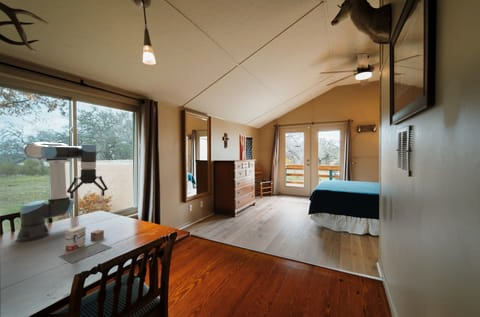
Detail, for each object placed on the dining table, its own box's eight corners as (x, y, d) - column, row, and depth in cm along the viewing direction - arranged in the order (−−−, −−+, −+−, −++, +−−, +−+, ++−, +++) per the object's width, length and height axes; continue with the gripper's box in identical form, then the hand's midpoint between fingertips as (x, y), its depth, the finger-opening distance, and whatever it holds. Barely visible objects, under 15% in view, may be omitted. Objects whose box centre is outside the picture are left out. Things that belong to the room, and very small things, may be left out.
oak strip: (61, 255, 111) (61, 254, 111) (96, 243, 127) (96, 242, 127) (62, 256, 110) (62, 255, 110) (97, 243, 126) (97, 242, 126)
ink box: (71, 251, 116) (71, 231, 116) (65, 250, 117) (65, 230, 117) (86, 244, 125) (86, 226, 124) (79, 243, 126) (79, 225, 125)
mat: (59, 256, 110) (59, 256, 110) (98, 242, 128) (98, 242, 128) (71, 263, 103) (71, 262, 103) (111, 247, 121) (111, 247, 121)
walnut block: (90, 239, 131) (90, 232, 131) (97, 236, 136) (97, 229, 136) (97, 240, 130) (97, 233, 130) (103, 237, 135) (103, 230, 135)
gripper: (61, 169, 113) (60, 206, 114) (112, 168, 128) (112, 201, 129) (62, 168, 119) (62, 203, 120) (111, 167, 134) (111, 198, 135)
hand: (88, 202), depth 124 cm, fingers open, 13 cm apart
